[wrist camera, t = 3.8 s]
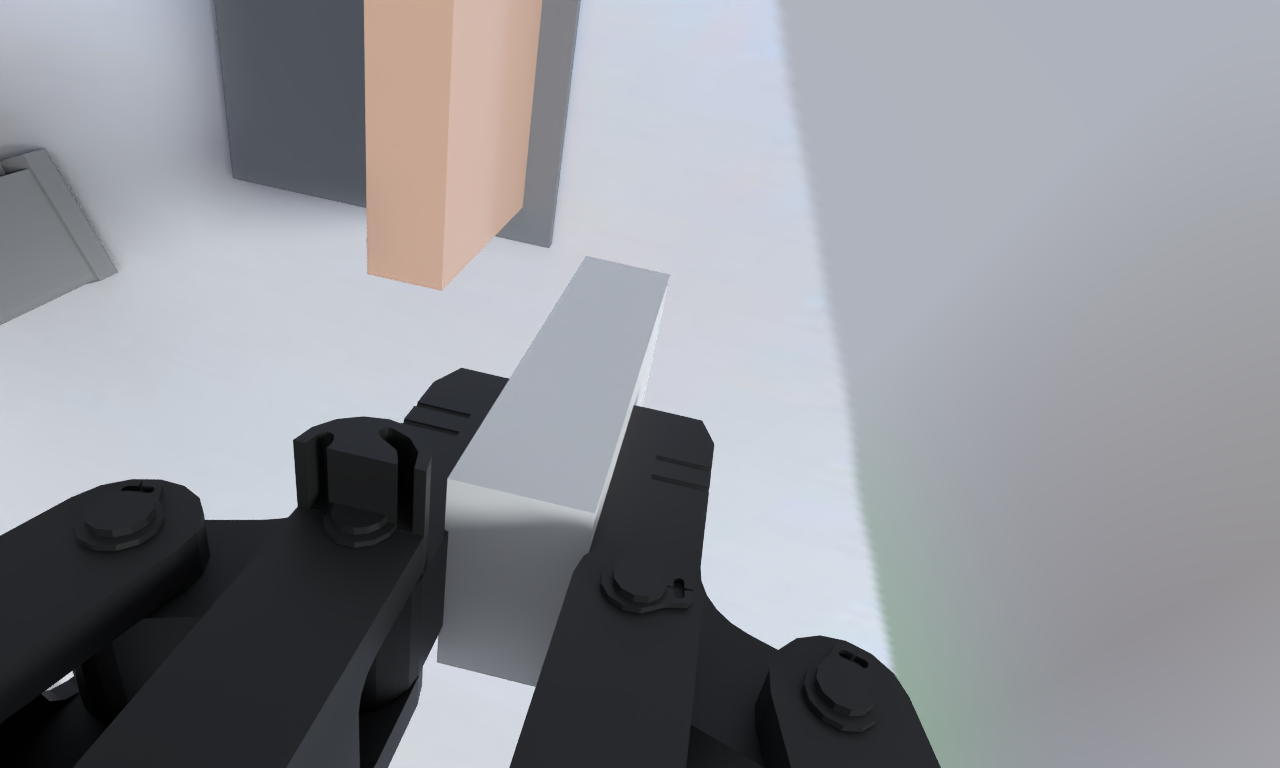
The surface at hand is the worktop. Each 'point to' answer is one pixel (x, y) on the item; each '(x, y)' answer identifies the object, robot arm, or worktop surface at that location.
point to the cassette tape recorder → (42, 237)
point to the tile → (444, 130)
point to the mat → (359, 102)
